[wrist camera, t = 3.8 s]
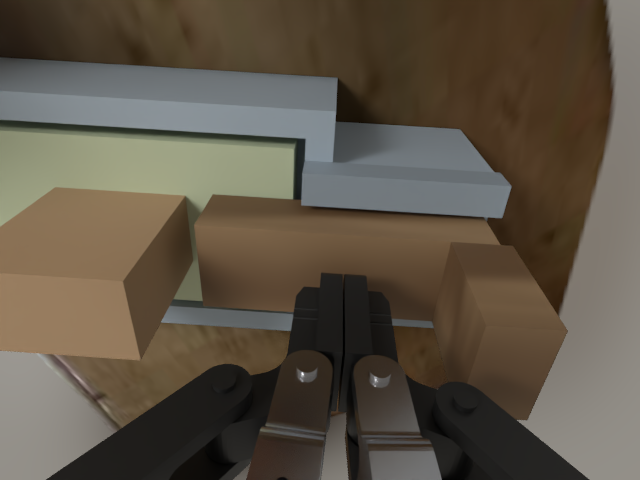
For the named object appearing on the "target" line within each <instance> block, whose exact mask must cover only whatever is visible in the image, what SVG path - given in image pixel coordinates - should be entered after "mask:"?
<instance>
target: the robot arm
mask: <svg viewBox="0 0 640 480" xmlns="http://www.w3.org/2000/svg"><path fill="white" fill-rule="evenodd" d="M338 390H339V404H338V411H340V412H346V416H347V417H346V420H347V421H346V422H347V424H346V431H345V445H346V457H347V468H348V479H349V480H589V479H588V478H586V477H585V476H584V475H583V474H582V473H580V472H579V471H578V470H577V469H576V468H574V467H573V466H572V465H571V464H569V463H568V462H567V461H566V460H564V459H563V458H562V457H561V456H560V455H558V454H557V453H556V452H555V451H554V450H552V449H551V448H550V447H549V446H547V445H546V444H545V443H544V442H542V441H541V440H540V439H539V438H538V437H536V436H535V435H534V434H533V433H532V432H530V431H529V430H528V429H526V428H525V427H524V426H523V425H522V424H521V423H519V422H518V421H517V420H516V419H514V418H513V417H512V416H511V415H510V414H508V413H507V412H506V411H505V410H503V409H502V408H501V407H500V406H499V405H497V404H496V403H495V402H494V401H492V400H491V399H490V398H489V397H488V396H486V395H485V394H484V393H483V392H481V391H480V390H479V389H477V388H476V387H474V386H472V385H470V384H467V383H463V382H449V383H446V384H444V385H442V386H441V387H440V388H439V389H438V390H437V389H434V388H431V387H428V386H425V385H422V384H420V383H418V382H416V381H414V380H412V379H411V378H409V377H408V376H407V375H406V374H405V372H404V370H403V369H402V367H401V366H400V365H399V363H398V358H397V351H396V344H395V338H394V331H393V326H392V317H391V310H390V303H389V301H388V300H387V299H386V297H385V296H384V295H383V293H382V292H376V291H368V288H367V277H366V275H352V274H344V279H343V274H336V273H322V272H321V278H320V288H319V287H305V286H304V287H303V288H302V289H301V291H300V292H299V293H298V294H297V295H296V300H295V306H294V313H293V320H292V327H291V333H290V340H289V347H288V353H287V356H286V358H285V359H284V361H283V362H282V364H281V365H279V366H278V367H277V368H275V369H273V370H271V371H269V372H265V373H261V374H256V375H251V376H250V374H249V373H248V372H247V371H246V370H245V369H244V368H242V367H240V366H238V365H234V364H222V365H218V366H215V367H212V368H210V369H209V370H207V371H205V372H204V373H203V374H201V375H200V376H198V377H197V378H195V379H194V380H192V381H191V382H189V383H188V384H186V385H185V386H183V387H182V388H180V389H179V390H177V391H176V392H175V393H173V394H172V395H170V396H169V397H167V398H166V399H164V400H163V401H161V402H160V403H158V404H157V405H155V406H154V407H152V408H151V409H149V410H148V411H146V412H145V413H144V414H142V415H141V416H139V417H138V418H136V419H135V420H133V421H132V422H130V423H129V424H127V425H126V426H124V427H123V428H121V429H120V430H118V431H117V432H116V433H114V434H113V435H111V436H110V437H108V438H107V439H105V440H104V441H102V442H101V443H99V444H98V445H96V446H95V447H93V448H92V449H90V450H89V451H88V452H86V453H85V454H83V455H82V456H80V457H79V458H77V459H76V460H74V461H73V462H71V463H70V464H68V465H67V466H65V467H64V468H62V469H61V470H60V471H58V472H57V473H55V474H54V475H52V476H51V477H49V478H48V479H46V480H233V479H234V478H235V477H236V476H237V475H238V474H239V473H240V472H241V471H242V470H243V469H244V468H246V466H248V465H249V463H250V462H251V464H250V468H249V472H248V475H247V479H246V480H321V476H322V468H323V459H324V451H325V442H326V434H327V432H328V430H329V426H330V418H331V411H336V408H337V399H338Z"/></svg>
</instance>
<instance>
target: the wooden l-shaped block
mask: <svg viewBox="0 0 640 480" xmlns="http://www.w3.org/2000/svg"><path fill="white" fill-rule="evenodd" d="M194 229H195V238H196V247H197V255H198V264H199V273H200V282H201V291H202V300H203V306H210V307H224V308H239V309H254V310H269V311H284V312H294V306H295V300H296V295H297V294H298V293H299V292H300V291H301V289H302V288H303V287H304V286H305V287H319V288H320V278H321V272H322V273H336V274H343V279H344V274H352V275H366V277H367V288H368V291H376V292H382V293H383V295H384V296H385V297H386V299H387V300H388V301H389V303H390V310H391V317H392V319H403V320H418V321H432V323H433V327H434V331H435V334H436V338H437V342H438V346H439V349H440V353H441V357H442V361H443V365H444V368H445V372H446V376H447V380H448V383H449V382H463V383H467V384H470V385H472V386H474V387H476V388H477V389H479V390H480V391H481V392H483V393H484V394H485V395H486V396H488V397H489V398H490V399H491V400H492V401H494V402H495V403H496V404H497V405H499V406H500V407H501V408H502V409H503V410H505V411H506V412H507V413H508V414H510V415H511V416H512V417H513V418H514V419H516V420H527V419H528V417H529V415H530V413H531V411H532V408H533V406H534V404H535V402H536V400H537V398H538V395H539V393H540V391H541V389H542V386H543V384H544V382H545V380H546V378H547V376H548V373H549V371H550V369H551V367H552V364H553V362H554V360H555V358H556V356H557V354H558V351H559V349H560V347H561V345H562V343H563V341H564V338H565V336H566V334H567V332H568V330H567V329H566V327H565V326H564V324H563V323H562V321H561V320H560V318H559V317H558V315H557V313H556V312H555V310H554V309H553V307H552V306H551V304H550V303H549V301H548V299H547V298H546V296H545V295H544V293H543V292H542V290H541V289H540V287H539V286H538V284H537V282H536V281H535V279H534V278H533V276H532V275H531V273H530V272H529V270H528V269H527V267H526V265H525V264H524V262H523V261H522V259H521V258H520V256H519V255H518V253H517V251H516V250H515V248H514V247H513V246H508V245H500V243H499V242H498V240H497V238H496V237H495V235H494V233H493V232H492V230H491V228H490V227H489V225H488V223H487V222H486V220H485V218H484V217H476V216H460V215H445V214H429V213H413V212H398V211H382V210H367V209H351V208H336V207H320V206H304V205H301V200H294V199H279V198H263V197H248V196H232V195H216V194H213V195H212V196H211V198H210V200H209V201H208V203H207V205H206V206H205V208H204V210H203V211H202V213H201V215H200V216H199V218H198V219H197V221H196V223H195V224H194Z"/></svg>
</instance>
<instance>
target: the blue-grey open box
mask: <svg viewBox="0 0 640 480" xmlns="http://www.w3.org/2000/svg"><path fill="white" fill-rule="evenodd" d="M337 81H338V78H333V77H317V76H300V75H284V74H267V73H251V72H234V71H218V70H201V69H185V68H168V67H152V66H135V65H119V64H102V63H86V62H70V61H53V60H37V59H20V58H4V57H0V120H14V121H30V122H46V123H62V124H78V125H94V126H110V127H126V128H142V129H158V130H174V131H190V132H206V133H222V134H238V135H254V136H270V137H286V138H298V153H297V194H296V200H301V205H304V206H320V207H336V208H351V209H367V210H382V211H398V212H413V213H429V214H445V215H460V216H476V217H484V218H485V220H486V222H487V219H488V217H491V218H502V217H503V214H504V210H505V207H506V204H507V200H508V197H509V194H510V190H511V187H512V186H511V185H510V184H509V183H508V181H507V180H506V179H505V178H504V177H503V175H502V174H501V173H496V172H494V171H493V170H492V169H491V167H490V166H489V165H488V164H487V162H486V161H485V160H484V159H483V157H482V156H481V155H480V154H479V152H478V151H477V150H476V149H475V147H474V146H473V145H472V144H471V142H470V141H469V140H468V139H467V137H466V136H465V135H464V134H463V132H462V131H461V130H460V129H448V128H432V127H416V126H400V125H383V124H367V123H351V122H335V121H336V104H337ZM293 313H294V312H284V311H269V310H254V309H239V308H224V307H210V306H203V301H192V300H177V299H173V300H172V302H171V304H170V306H169V308H168V310H167V312H166V314H165V315H164V317H163V319H162V321H161V322H165V323H180V324H194V325H209V326H224V327H239V328H253V329H268V330H283V331H291V327H292V320H293ZM392 325H395V326H409V327H424V328H434V327H433V323H432V321H418V320H403V319H392Z"/></svg>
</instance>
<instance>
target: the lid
mask: <svg viewBox="0 0 640 480" xmlns="http://www.w3.org/2000/svg"><path fill="white" fill-rule="evenodd" d="M297 153H298V138H286V137H270V136H254V135H238V134H222V133H206V132H190V131H174V130H158V129H142V128H126V127H110V126H94V125H78V124H62V123H46V122H30V121H14V120H0V351H14V352H28V353H43V354H57V355H72V356H86V357H101V358H115V359H130V360H141V359H142V357H143V355H144V353H145V351H146V349H147V347H148V346H149V344H150V342H151V340H152V338H153V336H154V334H155V332H156V330H157V329H158V327H159V325H160V323H161V321H162V319H163V317H164V315H165V314H166V312H167V310H168V308H169V306H170V304H171V302H172V300H173V299H177V300H192V301H203V300H202V291H201V282H200V273H199V264H198V255H197V247H196V238H195V229H194V224H195V223H196V221H197V219H198V218H199V216H200V215H201V213H202V211H203V210H204V208H205V206H206V205H207V203H208V201H209V200H210V198H211V196H212V195H213V194H216V195H232V196H248V197H263V198H279V199H294V200H296V194H297Z"/></svg>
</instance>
